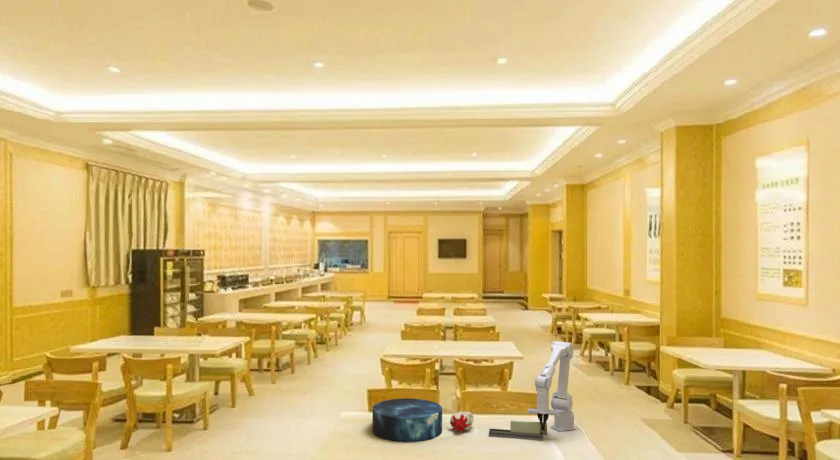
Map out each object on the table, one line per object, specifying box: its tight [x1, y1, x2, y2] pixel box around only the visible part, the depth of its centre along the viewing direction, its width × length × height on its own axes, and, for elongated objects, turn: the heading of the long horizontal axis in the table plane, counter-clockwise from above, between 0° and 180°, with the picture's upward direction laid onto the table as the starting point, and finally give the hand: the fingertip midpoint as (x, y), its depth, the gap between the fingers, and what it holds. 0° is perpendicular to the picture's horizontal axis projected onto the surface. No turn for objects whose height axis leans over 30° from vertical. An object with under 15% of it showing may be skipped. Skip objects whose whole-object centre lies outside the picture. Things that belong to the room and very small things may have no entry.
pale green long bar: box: [509, 419, 540, 434], centre depth 280 cm, size 14×2×6 cm, turn 79°
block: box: [540, 421, 548, 437], centre depth 285 cm, size 5×5×5 cm
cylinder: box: [371, 397, 443, 443], centre depth 288 cm, size 35×35×12 cm
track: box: [488, 428, 544, 441], centre depth 280 cm, size 26×7×2 cm, turn 79°
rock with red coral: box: [449, 411, 474, 433], centre depth 288 cm, size 9×11×15 cm
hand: (542, 429), depth 277 cm, fingers closed
